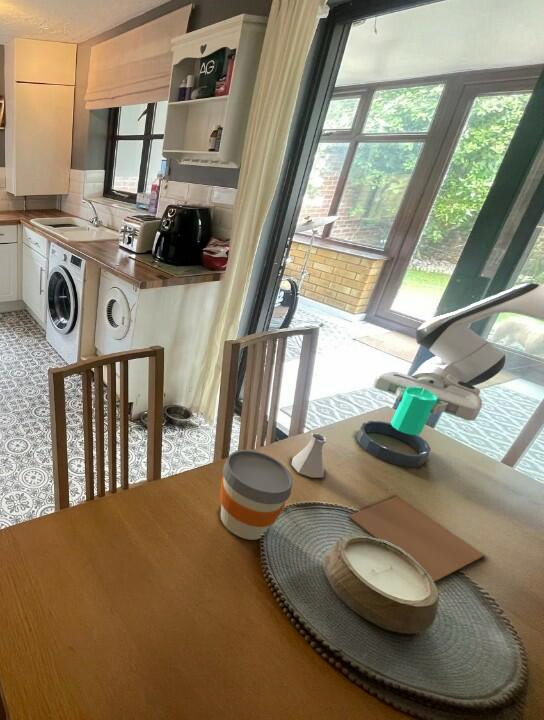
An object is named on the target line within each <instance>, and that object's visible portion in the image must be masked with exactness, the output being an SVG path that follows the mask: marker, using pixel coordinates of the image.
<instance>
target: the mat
mask: <svg viewBox="0 0 544 720" xmlns="http://www.w3.org/2000/svg"><path fill="white" fill-rule="evenodd" d="M364 514H366V515H364ZM348 518H349V519H350V520H351V521H353V523H355V524H357V525H358V526H359V527H360V528H362V529H363V530H364V531H365V532H366V533H368V534H369V535H370V536H372V538H374V539H376V538H380V539H383V540H386V541H388V542H390V543H392V544H394V545H396V546H399V547H400V548H402V549H403V550H405V551H406V552H407V553H409V554H410V555H411V556H412V557H413V558H414V559H415V560H416V561H417V562H419V564H420V565H421V566H422V567H423V568H424V569H425V570H426V572H427V573H428V574H429V575H430V576H431V577H432V579H433V580H434V581H435V582H434V583H436V582H438V581H439V580H442V579H443V578H446V577H447V576H450V575H451V574H453V573H455V572H457V571H459V570H461V569H463V568H464V567H467V566H469V565H470V564H472V563H474V562H476V561H478V560H480V559H482V558H484V557H485V554H483V553H482V552H481V551H479V550H477V549H476V548H474V547H473V546H471V544H468V543H467V542H466V541H464V540H463V539H461V538H460V537H459V536H457V535H456V534H454V533H452V532H451V531H449V530H448V529H446V528H445V527H443V526H442V525H440V524H439V523H437V522H436V521H435V520H433V519H432V518H430V517H428V516H427V515H426V514H424V513H423V512H421V511H420V510H418V509H416V508H415V507H414V506H412V505H411V504H410V503H408V502H406V501H405V500H403V499H402V498H400V497H399V496H395V497H391V498H390V499H387V500H385V501H382V502H379V503H377V504H374V505H372V506H369V507H367V508H364V509H362V510H359V511H357V512H355V513H353V514H350V515H348Z"/></svg>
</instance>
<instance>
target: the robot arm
mask: <svg viewBox="0 0 544 720" xmlns="http://www.w3.org/2000/svg"><path fill="white" fill-rule="evenodd" d="M503 313H510V314H515V315H521V316H524V317H528V318H532V319H535V320H538V321H541V322H544V284H543V283H541V284H539V283H534V282H527V283H523V284H518V285H516V286H513V287H511V288H508V289H505V290H502V291H500V292H498V293H494V294H493V295H490V296H488V297H485V298H482V299H480V300H477V301H476V302H473V303H471V304H468V305H466V306H463V307H461V308H459V309H456V310H453V311H450V312H448V313H445V314H442V315H439V316H436V317H433V318H432V317H431V318H430V319H428V320H426V321H425V322H423V323H422V324H420V326H418V328H416V330H415V340H416V344H418V345H419V346H420V347H423V348H424V349H425V350H427V351H428V352H430V353H432V354H433V355H434V356H433V357H431V358H429V359H427V360H426V361H424V362H423V363H422V364H420V366H419V367H418V368H417V370H415V371H414V373H413V374H411V375H407V374H404V373H402V372H398V371H395V370H384V371H383V370H382V371H380V372H379V373H378V374H377V375H376V376H375V378H374V380H373V383H372V386H373V387H374V388H375V389H376V390H379V391H382V392H385V393H388V394H391V395H394V396H395V397H396V402H399V403H400V402H401V400H402V398H403V395H404V392H405V390H406V389H407V388H408V387H421V388H425V389H426V390H428V391H430V392H431V393H433V394H434V395H436V396H437V397H438V399H437V401H436V403H435V405H434V406H433V408H432V410H431V412H430V413H431V414H433V415H436V413H445V414H448V415H451V416H454V417H456V418H460V419H463V420H465V421H468V422H469V421H470V422H474V421H475V420H476V419H477V418H478V415H479V413H480V412H481V410H482V407H483V399H482V398H481V397H480V395H481V389H480V388H478V387H476V386H477V385H480V384H483V383H485V382H487V381H489V380H490V379H492V378H493V377H495V376H497V374H499V373H500V372H501V371H502V370H503V369H504V366H505V365H506V354H504V353H503V352H502V351H500V350H499V349H498V348H497V347H496V346H495V345H493V344H491V343H490V342H489V341H487V340H486V339H484V338H483V337H481V336H480V335H479V334H478V333H476V332H475V331H473V330H472V329H471V328H469V326H468V325H470V324H473V323H476V322H478V321H481V320H484V319H486V318H488V317H492V316H494V315H498V314H503Z"/></svg>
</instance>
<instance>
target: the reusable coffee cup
mask: <svg viewBox="0 0 544 720" xmlns="http://www.w3.org/2000/svg"><path fill="white" fill-rule="evenodd" d="M222 475H223V476H222V478H221V481H220V492H219V493H220V494H219V499H220V503H221V507H220V519H221V522H222V524H223V525H224V527H225V528H226V529H227V530H228V531H229V532H230V533H232V534H233V535H235V536H237V537H239V538H241V539H244V540H251V541H254V540H256V541H257V540H259V539H261V538H262V537H261V536H260V535H261V534H263V533H264V532H266V533H267V531H268V529H269V528H270V526H271V525H273V524H274V523H275V522H276V521H277V519H278V517H279V516H280V514H281V513H282V511H283V509H284V508H285V506H286V501H288V499H290V497H291V494H292V488H293V482H294V479H293V476H292V473H291V472H290V469H288V468H287V467H286V465H284V464H283V463H282V462H281V461H280V460H278V459H276V458H275V457H273V456H271V455H268V454H266V453H264V452H261V451H257V450H252V449H239V450H235V451H233V452H231V453H230V454H229V455H228V456H227V459H226V461H225V462H224V465H223V468H222Z"/></svg>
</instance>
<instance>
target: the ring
mask: <svg viewBox="0 0 544 720" xmlns="http://www.w3.org/2000/svg"><path fill="white" fill-rule="evenodd" d="M367 433H378V434H383V435H388V436H391V437H393V438H396V439H399V440H401V441H402V442H404V443H406V444H407V445H409V446H411V447H412V448H413V449H414V450H416V451H417V452H418V453H419V454H412V453H411V454H410V453H405V452H401V451H396V450H393V449H391V448H388V447H386V446H384V445H382V444H381V443H379V442H377V441H375V440H374V439H372V438H371V437H370V436H369V435H368V434H367ZM356 440H357V443H358V445H360V446H361V447H362V448H363V449H364V450H365V451H366V452H368V453H369V454H371V455H372V456H373V457H375V458H378V459H379V460H382V461H384V462H387V463H390V464H393V465H396V466H401V467H404V468H405V467H406V468H408V467H409V468H418V467H420V466H423V465H424V464H425V463H426V461H427V459H428V457H429V455H430V453H431V450H432V449H431V446H430V445H429V443H428V442H427V441H426V439H424V438H423V437H422V436H420V434H419V435H410V434H405V433H403V432H401V431H398V430H397V429H395V428H394V427H392V425H391V422H387V421H382V420H369V421H365V422H362V424H361V426H360V428H359V430H358V433H357V435H356Z"/></svg>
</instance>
